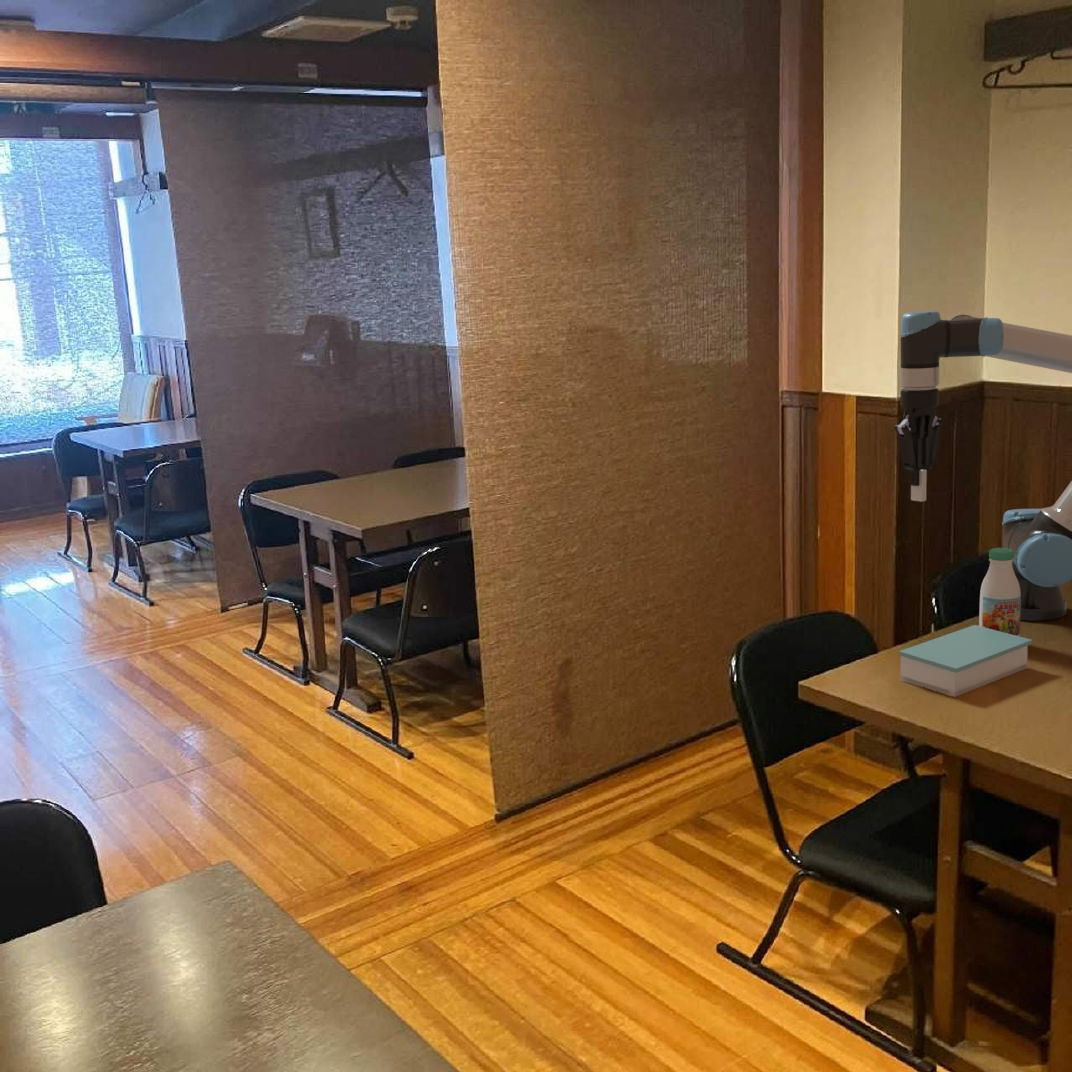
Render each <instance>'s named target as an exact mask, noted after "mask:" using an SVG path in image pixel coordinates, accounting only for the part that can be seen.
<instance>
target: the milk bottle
mask: <svg viewBox="0 0 1072 1072" xmlns="http://www.w3.org/2000/svg"><path fill="white" fill-rule="evenodd" d="M988 557H989V558H988V561H989V567H988V570H987V572H986V574H985V576H984V578H983V580H982V582H981V586H980V591H979V592H980V593H979V614H978V615H979V616H978V617H979V618H978V619H979V620H978V621H979V622H978V626H981V627H985V628H989V629H992V630H996V631H1000V632H1004V633H1008V634H1012V635H1015V636H1019V637H1021V635H1020V634H1021V620H1020V608H1021V592H1020V586H1019V582H1018V580H1017V578H1016V576H1015V573H1014V570H1013V567H1012V562H1013V561H1014V560H1013V558H1014V552H1013V550H1011V549H1007V548H1002V547H995V548H994V547H993V548H991V549H989V551H988Z"/></svg>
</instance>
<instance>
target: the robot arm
mask: <svg viewBox="0 0 1072 1072" xmlns="http://www.w3.org/2000/svg"><path fill="white" fill-rule="evenodd" d="M958 357H959V358H964V357H967V358H968V357H984V358H985V357H987V358H993V359H998V360H1004V361H1008V362H1013V363H1019V364H1023V365H1028V366H1035V367H1039V368H1043V369H1049V370H1053V371H1059V372H1064V373H1069V374H1072V334H1067V333H1060V332H1055V331H1051V330H1050V331H1049V330H1046V329H1045V330H1044V329H1039V328H1035V327H1029V326H1023V325H1017V324H1012V323H1006V322H1002V320H1001V319H1000V318H999V317H975V316H972V315H968V314H960V315H959V314H957V315H955V316H953V317H952V318H951V317H950V319H949V320H948V319H947V320H946V319H942V318H941V313H940V312H939V311H937V310H922V311H921V310H920V311H919V310H918V311H910V312H909V311H907V312H905V313H904V314H903V316H902V317H901V324H900V387H902V389H901V390H900V393H899V394H900V397H899V398H900V403H899V405H900V407H901V408H903V409H904V410H903V411H904V412H903V416H902V421H901V422H900V423H899V424H895V425H894V431H895V433H896V434H897V438H898V439H897V440H898V445H899V452H900V457H901V463H902V468H904V469H905V470H908V471H909V484H910V500H911V501H914V502H920V503H921V502H926V501H927V483H928V470H932V469H933V465H935V463H936V457H937V453H938V445H939V441H940V433H941V428H942V427H943V425H944V418H942V417H941V418H940V417H938V416H937V415H936V413H937V412H936V410H935V408H936V407H938V406H939V404H940V397H939V396H940V389H939V388H937V387H938V386H939V385H940V358H958ZM1001 525H1002V543H1001V544H1002V546H1001V548H1007V549H1011V550H1013V552H1014V558H1013V560H1014V561H1013V562H1012V567H1013V570H1014V573H1015V576H1016V578H1017V580H1018V582H1019V586H1020V592H1021V608H1020V621H1029V622H1030V621H1031V622H1033V621H1038V622H1039V621H1051V620H1057V619H1060V618H1062V617H1065V615H1067V607H1068V606H1067V604H1068V603H1067V601H1066V599H1065V598H1064V593H1063V589H1062V586H1063V585H1064V584H1067V583H1068V582H1070V581H1072V480H1071V481H1070V482H1069V484H1068V485H1067V486H1066V488H1065V489H1064V491H1063V492H1062V493H1061V495H1060V496H1059V498H1058V499H1057V500H1056V501H1055V503H1054V504H1052V505H1051V506H1048V507H1043V508H1017V509H1009V510H1007V511H1005V512H1004V514H1003V518H1002V522H1001Z"/></svg>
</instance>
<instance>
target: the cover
mask: <svg viewBox="0 0 1072 1072" xmlns="http://www.w3.org/2000/svg"><path fill="white" fill-rule="evenodd" d="M1030 645H1033V639H1031V638H1027V637H1022V636H1020V637H1019V636H1015V635H1012V634H1008V633H1004V632H1000V631H996V630H992V629H989V628H985V627H981V626H979V625H978V624H973V625H970V626H968V627H966V628H962V629H959V630H956V631H954V632H951V633H947V634H944V635H942V636H940V637H935V638H932V639H931V640H930V639H929V640H928V641H924V642H922V643H919V644H916V645H913V646H911V647H908V648H904V649H902V650H899V651H898V656H900V657H901V656H903V657H906V658H909V659H913V660H916V661H919V662H922V663H926V664H929V665H932V666H935V667H939V668H942V669H945V670H949V671H952V672H955V673H957V672H959V671H962V670H965V669H967V668H970V667H973V666H975V665H978V664H980V663H983V662H986V661H988V660H991V659H994V658H996V657H999V656H1002V655H1004V654H1007V653H1009V652H1012V651H1015V650H1017V649H1020V648H1023V647H1025V646H1028V647H1029V646H1030Z"/></svg>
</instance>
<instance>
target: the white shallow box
mask: <svg viewBox="0 0 1072 1072" xmlns="http://www.w3.org/2000/svg"><path fill="white" fill-rule="evenodd" d="M1028 647H1029V645H1028V646H1025V647H1023V648H1020V649H1017V650H1015V651H1012V652H1009V653H1007V654H1004V655H1002V656H999V657H996V658H994V659H991V660H988V661H986V662H983V663H980V664H978V665H975V666H973V667H970V668H967V669H965V670H962V671H959V672H957V673H955V672H952V671H949V670H945V669H942V668H939V667H935V666H932V665H929V664H926V663H922V662H919V661H916V660H913V659H909V658H906V657H903V656H900V681H901V682H903V683H907V684H910V685H914V686H916V687H919V686H921V687H920V688H923V687H925V688H924V689H926V688H927V690H929V689H930V691H932V690H933V691H932V692H936V691H938V692H937V693H939V692H941V693H940V694H942V693H943V695H945V694H946V696H949V697H952V696H953V697H952V698H956V697H958V696H962V695H964V694H966V693H970V692H971V691H974V690H977V689H979V688H982V687H983V686H986V685H988V684H989V685H990V684H991V683H995V682H997V681H999V680H1001V679H1004V678H1006V677H1008V676H1012V675H1014V674H1016V673H1019V672H1021V671H1024V670H1026V669H1028Z"/></svg>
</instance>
